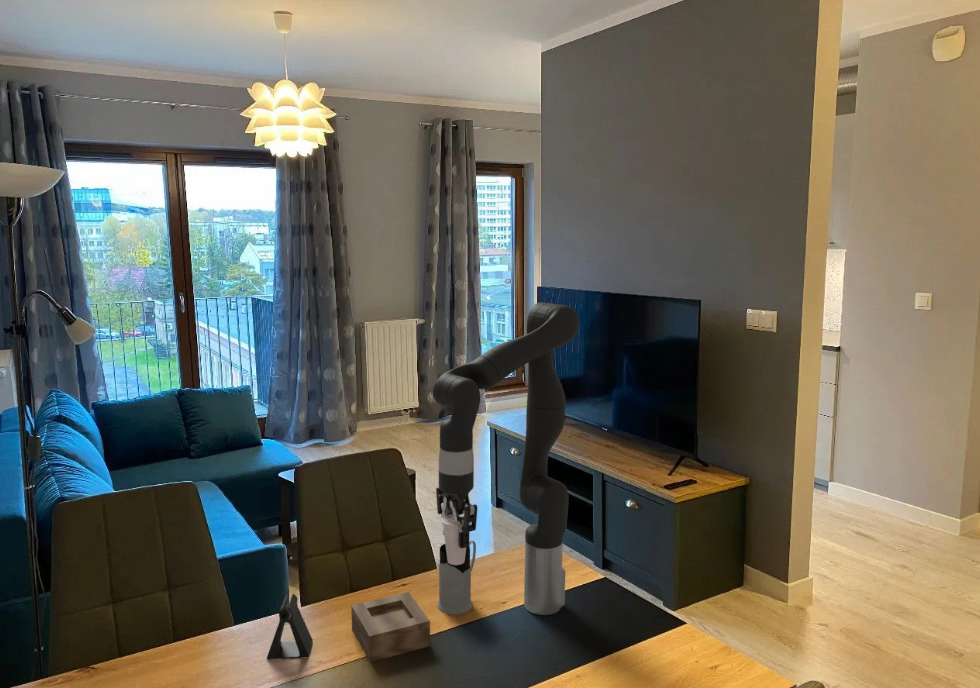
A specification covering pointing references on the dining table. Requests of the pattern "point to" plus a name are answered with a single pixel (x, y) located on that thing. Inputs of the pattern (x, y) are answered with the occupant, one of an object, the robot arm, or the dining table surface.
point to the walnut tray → (390, 626)
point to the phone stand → (299, 631)
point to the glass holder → (455, 583)
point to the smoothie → (453, 540)
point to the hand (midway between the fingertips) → (456, 540)
